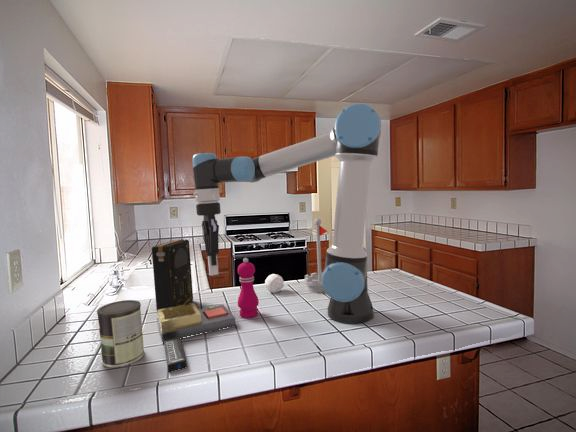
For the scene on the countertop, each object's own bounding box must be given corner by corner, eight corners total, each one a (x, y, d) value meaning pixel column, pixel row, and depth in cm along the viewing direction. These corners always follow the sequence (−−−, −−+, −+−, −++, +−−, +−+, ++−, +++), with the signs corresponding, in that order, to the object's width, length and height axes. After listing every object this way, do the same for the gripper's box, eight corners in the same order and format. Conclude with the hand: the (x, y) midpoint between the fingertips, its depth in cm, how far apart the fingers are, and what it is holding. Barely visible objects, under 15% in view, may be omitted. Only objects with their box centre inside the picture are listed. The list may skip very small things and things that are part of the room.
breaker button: (227, 321, 109) (226, 312, 108) (209, 325, 106) (208, 316, 106) (222, 315, 114) (221, 307, 114) (204, 319, 111) (204, 310, 111)
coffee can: (94, 369, 83) (88, 315, 82) (112, 350, 94) (107, 301, 92) (136, 366, 84) (132, 312, 83) (150, 347, 94) (146, 298, 93)
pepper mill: (242, 320, 110) (239, 261, 109) (235, 313, 117) (232, 257, 115) (262, 315, 114) (259, 258, 112) (254, 309, 120) (251, 254, 118)
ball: (279, 299, 138) (284, 287, 134) (261, 293, 138) (265, 280, 133) (282, 285, 144) (287, 273, 140) (265, 279, 144) (269, 267, 139)
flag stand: (298, 289, 141) (295, 219, 139) (319, 282, 150) (316, 216, 148) (321, 295, 132) (318, 220, 129) (342, 288, 141) (339, 217, 138)
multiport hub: (180, 345, 96) (180, 337, 95) (187, 369, 82) (186, 360, 82) (164, 348, 94) (163, 340, 94) (168, 374, 81) (167, 365, 80)
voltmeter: (175, 315, 118) (170, 245, 116) (153, 314, 120) (147, 246, 118) (196, 300, 133) (191, 238, 131) (176, 299, 135) (171, 238, 133)
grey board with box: (235, 326, 106) (234, 308, 105) (162, 343, 96) (160, 323, 96) (223, 312, 118) (222, 296, 118) (157, 326, 109) (156, 308, 108)
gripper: (192, 203, 111) (198, 272, 113) (200, 203, 99) (207, 280, 101) (214, 201, 114) (219, 269, 116) (225, 201, 103) (230, 276, 104)
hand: (213, 274), depth 109 cm, fingers closed
